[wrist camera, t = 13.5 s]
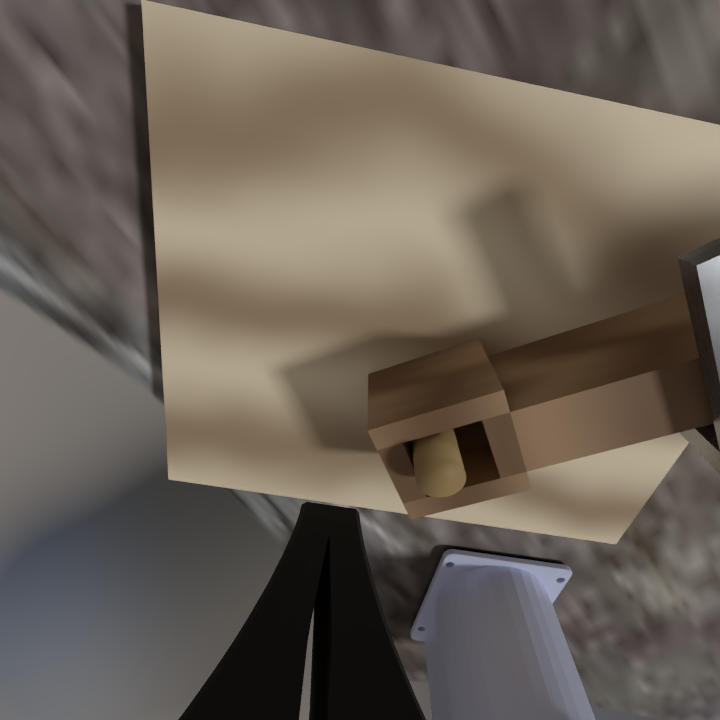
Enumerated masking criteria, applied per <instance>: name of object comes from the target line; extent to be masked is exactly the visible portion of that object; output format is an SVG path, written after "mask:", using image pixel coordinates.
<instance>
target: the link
mask: <svg viewBox="0 0 720 720" xmlns="http://www.w3.org/2000/svg"><path fill="white" fill-rule="evenodd" d="M710 424H714V422H713V418H712V413H711V409H710V404H709V399H708V395H707V390H706V386H705V381H704V377H703V372H702V368H701V363H700V359H699V354H698V350H697V345H696V341H695V336H694V332H693V327H692V322H691V318H690V313H689V309H688V304H687V300H686V295H685V294H683V295H679V296H676V297H673V298H670V299H667V300H664V301H661V302H657V303H654V304H651V305H648V306H645V307H642V308H638V309H635V310H632V311H629V312H626V313H623V314H619V315H616V316H613V317H610V318H607V319H604V320H601V321H597V322H594V323H591V324H588V325H585V326H582V327H578V328H575V329H572V330H569V331H566V332H563V333H560V334H556V335H553V336H550V337H547V338H544V339H541V340H537V341H534V342H531V343H528V344H525V345H522V346H518V347H515V348H512V349H509V350H506V351H503V352H500V353H496V354H493V355H490V356H487V355H486V353H485V351H484V349H483V347H482V345H481V342H480V340H479V338H477V339H474V340H471V341H468V342H465V343H462V344H459V345H456V346H453V347H450V348H446V349H443V350H440V351H437V352H434V353H431V354H428V355H425V356H422V357H419V358H416V359H413V360H410V361H407V362H404V363H401V364H398V365H394V366H391V367H388V368H385V369H382V370H379V371H376V372H373V373H370V374H368V427H367V431H368V433H369V435H370V437H371V439H372V441H373V443H374V445H375V447H376V449H377V451H378V453H379V455H380V457H381V460H382V462H383V464H384V466H385V468H386V470H387V472H388V474H389V476H390V478H391V480H392V482H393V484H394V486H395V488H396V490H397V492H398V494H399V497H400V499H401V501H402V503H403V505H404V507H405V509H406V511H407V513H408V515H409V517H410V519H415V518H419V517H423V516H427V515H431V514H435V513H439V512H443V511H447V510H451V509H455V508H459V507H463V506H467V505H471V504H475V503H479V502H483V501H487V500H491V499H495V498H499V497H503V496H507V495H511V494H515V493H519V492H524V491H528V490H532V489H531V485H530V482H529V478H528V475H527V472H528V471H531V470H535V469H539V468H543V467H547V466H551V465H555V464H559V463H563V462H566V461H570V460H574V459H578V458H582V457H586V456H590V455H594V454H598V453H601V452H605V451H609V450H613V449H617V448H621V447H625V446H629V445H632V444H636V443H640V442H644V441H648V440H652V439H656V438H660V437H664V436H667V435H671V434H675V433H679V432H683V431H687V430H691V429H695V428H699V427H702V426H706V425H710ZM453 428H454V432H455V436H456V439H457V443H458V447H459V451H460V454H461V458H462V462H463V466H464V469H465V473H466V482H465V485H464V486H463V488H462V489H461V490H460V491H458V492H457V493H455V494H453V495H451V496H447V497H431V496H428V495H426V494H424V493H423V492H421V491H420V490H419V488H418V487H417V485H416V479H415V471H414V463H413V455H412V446H411V441H412V440H415V439H418V438H422V437H425V436H429V435H432V434H436V433H439V432H443V431H446V430H450V429H453Z"/></svg>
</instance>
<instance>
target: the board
mask: <svg viewBox="0 0 720 720" xmlns="http://www.w3.org/2000/svg"><path fill="white" fill-rule="evenodd" d="M141 3H142V21H143V38H144V56H145V74H146V91H147V109H148V127H149V144H150V162H151V180H152V197H153V215H154V232H155V250H156V268H157V285H158V303H159V321H160V338H161V356H162V373H163V391H164V409H165V426H166V444H167V461H168V479H170V480H176V481H184V482H190V483H198V484H204V485H211V486H218V487H225V488H232V489H239V490H245V491H252V492H259V493H266V494H273V495H280V496H287V497H294V498H301V499H308V500H314V501H321V502H328V503H335V504H342V505H349V506H356V507H363V508H370V509H377V510H383V511H390V512H397V513H404V514H408V513H407V511H406V509H405V507H404V505H403V503H402V501H401V499H400V497H399V494H398V492H397V490H396V488H395V486H394V484H393V482H392V480H391V478H390V476H389V474H388V472H387V470H386V468H385V466H384V464H383V462H382V460H381V457H380V455H379V453H378V451H377V449H376V447H375V445H374V443H373V441H372V439H371V437H370V435H369V433H368V431H367V427H368V374H370V373H373V372H376V371H379V370H382V369H385V368H388V367H391V366H394V365H398V364H401V363H404V362H407V361H410V360H413V359H416V358H419V357H422V356H425V355H428V354H431V353H434V352H437V351H440V350H443V349H446V348H450V347H453V346H456V345H459V344H462V343H465V342H468V341H471V340H474V339H477V338H479V340H480V342H481V345H482V347H483V349H484V351H485V353H486V355H487V356H490V355H493V354H496V353H500V352H503V351H506V350H509V349H512V348H515V347H518V346H522V345H525V344H528V343H531V342H534V341H537V340H541V339H544V338H547V337H550V336H553V335H556V334H560V333H563V332H566V331H569V330H572V329H575V328H578V327H582V326H585V325H588V324H591V323H594V322H597V321H601V320H604V319H607V318H610V317H613V316H616V315H619V314H623V313H626V312H629V311H632V310H635V309H638V308H642V307H645V306H648V305H651V304H654V303H657V302H661V301H664V300H667V299H670V298H673V297H676V296H679V295H683V294H685V291H684V286H683V282H682V277H681V273H680V268H679V264H678V259H677V257H679V256H681V255H683V254H685V253H687V252H689V251H692V250H694V249H696V248H698V247H700V246H703V245H705V244H707V243H709V242H711V241H713V240H716V239H718V238H720V125H717V124H712V123H708V122H703V121H699V120H694V119H689V118H685V117H680V116H676V115H671V114H666V113H662V112H657V111H653V110H648V109H643V108H639V107H634V106H630V105H625V104H620V103H616V102H611V101H607V100H602V99H597V98H593V97H588V96H583V95H579V94H574V93H570V92H565V91H560V90H556V89H551V88H547V87H542V86H537V85H533V84H528V83H524V82H519V81H514V80H510V79H505V78H501V77H496V76H491V75H487V74H482V73H478V72H473V71H468V70H464V69H459V68H455V67H450V66H445V65H441V64H436V63H431V62H427V61H422V60H418V59H413V58H408V57H404V56H399V55H395V54H390V53H385V52H381V51H376V50H372V49H367V48H362V47H358V46H353V45H349V44H344V43H339V42H335V41H330V40H326V39H321V38H316V37H312V36H307V35H302V34H298V33H293V32H289V31H284V30H279V29H275V28H270V27H266V26H261V25H256V24H252V23H247V22H243V21H238V20H233V19H229V18H224V17H220V16H215V15H210V14H206V13H201V12H197V11H192V10H187V9H183V8H178V7H174V6H169V5H164V4H160V3H155V2H150V1H146V0H141ZM688 443H689V442H688V441H687V440H686V439H685V438H684V437H683V436H682V435H681V434H680V433H675V434H671V435H667V436H664V437H660V438H656V439H652V440H648V441H644V442H640V443H636V444H632V445H629V446H625V447H621V448H617V449H613V450H609V451H605V452H601V453H598V454H594V455H590V456H586V457H582V458H578V459H574V460H570V461H566V462H563V463H559V464H555V465H551V466H547V467H543V468H539V469H535V470H531V471H528V472H527V475H528V478H529V482H530V485H531V489H532V490H528V491H524V492H519V493H515V494H511V495H507V496H503V497H499V498H495V499H491V500H487V501H483V502H479V503H475V504H471V505H467V506H463V507H459V508H455V509H451V510H447V511H443V512H439V513H435V514H431V515H427V516H425V517H432V518H439V519H445V520H452V521H459V522H466V523H473V524H480V525H487V526H494V527H501V528H508V529H514V530H521V531H528V532H535V533H542V534H549V535H556V536H563V537H570V538H577V539H583V540H590V541H597V542H604V543H611V544H616V543H617V542H618V540H619V539H620V538H621V536H622V535H623V534H624V532H625V531H626V529H627V528H628V527H629V525H630V524H631V522H632V521H633V520H634V518H635V517H636V515H637V514H638V513H639V511H640V510H641V508H642V507H643V506H644V504H645V503H646V502H647V500H648V499H649V497H650V496H651V495H652V493H653V492H654V490H655V489H656V488H657V486H658V485H659V483H660V482H661V481H662V479H663V478H664V477H665V475H666V474H667V472H668V471H669V470H670V468H671V467H672V465H673V464H674V463H675V461H676V460H677V458H678V457H679V456H680V454H681V453H682V452H683V450H684V449H685V447H686V446H687V445H688ZM411 446H412V455H413V463H414V471H415V479H416V485H417V487H418V488H419V490H420V491H421V492H423V493H424V494H426V495H428V496H431V497H447V496H451V495H453V494H455V493H457V492H458V491H460V490H461V489H462V488H463V486H464V485H465V482H466V473H465V469H464V466H463V462H462V458H461V454H460V451H459V447H458V443H457V439H456V436H455V432H454V428H453V429H450V430H446V431H443V432H439V433H436V434H432V435H429V436H425V437H422V438H418V439H415V440H412V441H411Z"/></svg>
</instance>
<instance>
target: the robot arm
mask: <svg viewBox="0 0 720 720" xmlns="http://www.w3.org/2000/svg"><path fill="white" fill-rule="evenodd" d="M571 576H572V571H571V569H570V567H569V566H567V565H563V564H556V563H549V562H542V561H534V560H527V559H520V558H513V557H506V556H499V555H492V554H485V553H477V552H470V551H463V550H456V549H449V550H446V551H445V552H444V553H443V555H442V558H441V560H440V563H439V565H438V567H437V570H436V572H435V574H434V577H433V579H432V581H431V584H430V586H429V588H428V591H427V593H426V596H425V598H424V600H423V603H422V605H421V607H420V610H419V612H418V614H417V617H416V619H415V621H414V624H413V626H412V628H411V631H410V635H411V638H412V639H413V640H416V641H423V642H425V652H426V662H427V672H428V682H429V691H430V701H431V710H432V720H595V717H594V714H593V712H592V709H591V706H590V704H589V701H588V698H587V696H586V693H585V690H584V688H583V685H582V682H581V680H580V677H579V674H578V672H577V669H576V666H575V664H574V661H573V658H572V656H571V653H570V650H569V648H568V645H567V642H566V640H565V637H564V634H563V632H562V629H561V626H560V624H559V621H558V618H557V616H556V613H555V610H554V608H553V605H552V604H553V602H554V601H555V599H556V598H557V596H558V595H559V593H560V592H561V590H562V589H563V587H564V586H565V584H566V583H567V581H568V580H569V579H570V577H571ZM313 608H314V626H313V648H312V672H311V694H310V713H309V720H426V719H425V717H424V714H423V712H422V710H421V708H420V705H419V703H418V701H417V699H416V697H415V694H414V692H413V689H412V687H411V685H410V682H409V680H408V678H407V675H406V673H405V670H404V668H403V665H402V663H401V660H400V658H399V655H398V653H397V650H396V647H395V645H394V642H393V639H392V636H391V634H390V631H389V628H388V625H387V622H386V620H385V617H384V614H383V611H382V607H381V604H380V601H379V598H378V594H377V591H376V588H375V584H374V581H373V578H372V574H371V570H370V567H369V563H368V559H367V555H366V550H365V546H364V541H363V536H362V531H361V525H360V517H359V512H358V511H357V510H356V509H352V508H345V507H338V506H331V505H324V504H317V503H310V502H306V503H304V504H302V506H301V510H300V514H299V517H298V520H297V523H296V526H295V528H294V531H293V533H292V536H291V538H290V540H289V542H288V545H287V547H286V549H285V551H284V553H283V555H282V557H281V559H280V561H279V563H278V565H277V567H276V569H275V571H274V573H273V575H272V577H271V579H270V581H269V583H268V585H267V587H266V588H265V590H264V592H263V593H262V595H261V597H260V599H259V600H258V602H257V604H256V605H255V607H254V609H253V611H252V612H251V614H250V615H249V617H248V619H247V621H246V623H245V624H244V625H243V627H242V629H241V630H240V632H239V633H238V635H237V637H236V638H235V640H234V641H233V643H232V644H231V646H230V647H229V649H228V650H227V652H226V653H225V655H224V656H223V658H222V659H221V661H220V662H219V664H218V665H217V667H216V668H215V670H214V671H213V673H212V674H211V675H210V677H209V678H208V680H207V681H206V682H205V684H204V685H203V687H202V688H201V690H200V691H199V692H198V694H197V695H196V696H195V698H194V699H193V701H192V702H191V704H190V705H189V706H188V708H187V709H186V710H185V712H184V713H183V715H182V716H181V717H180V718H179V720H299V712H300V703H301V695H302V686H303V677H304V668H305V658H306V650H307V641H308V635H309V629H310V623H311V618H312V613H313Z"/></svg>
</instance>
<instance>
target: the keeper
mask: <svg viewBox="0 0 720 720" xmlns="http://www.w3.org/2000/svg"><path fill="white" fill-rule="evenodd" d="M677 259H678V264H679V268H680V273H681V277H682V282H683V286H684V291H685V295H686V300H687V304H688V309H689V313H690V318H691V322H692V327H693V332H694V336H695V341H696V345H697V350H698V354H699V359H700V363H701V368H702V372H703V377H704V381H705V386H706V390H707V395H708V399H709V404H710V409H711V413H712V418H713V422H714V424H710V425H706V426H702V427H699V428H695V429H691V430H687V431H683V432H679V433H680V434H681V435H682V436H683V437H684V438H685V439H686V440H687V441H688V442H689V443H690V444H691V445H692V446H693V447H694V448H695V449H696V450H697V451H698V452H699V453H700V454H701V455H702V456H703V457H704V458H705V459H706V460H707V461H708V462H709V463H710V464H711V465H712V466H713V467H714V468H715V469H716V470H717V471H718V472H719V473H720V238H718V239H716V240H713V241H711V242H709V243H707V244H705V245H703V246H700V247H698V248H696V249H694V250H692V251H689V252H687V253H685V254H683V255H681V256H679V257H677Z"/></svg>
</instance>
